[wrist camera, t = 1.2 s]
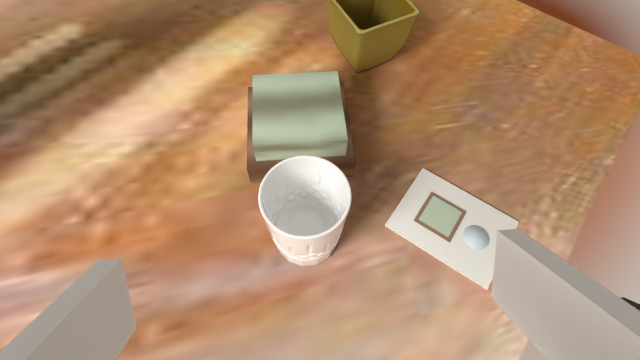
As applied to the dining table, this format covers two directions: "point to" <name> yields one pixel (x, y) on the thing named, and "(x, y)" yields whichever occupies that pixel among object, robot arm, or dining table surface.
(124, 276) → the robot arm
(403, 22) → the flower pot
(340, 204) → the white cup
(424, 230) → the page
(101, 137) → the dining table surface
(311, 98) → the tower base
